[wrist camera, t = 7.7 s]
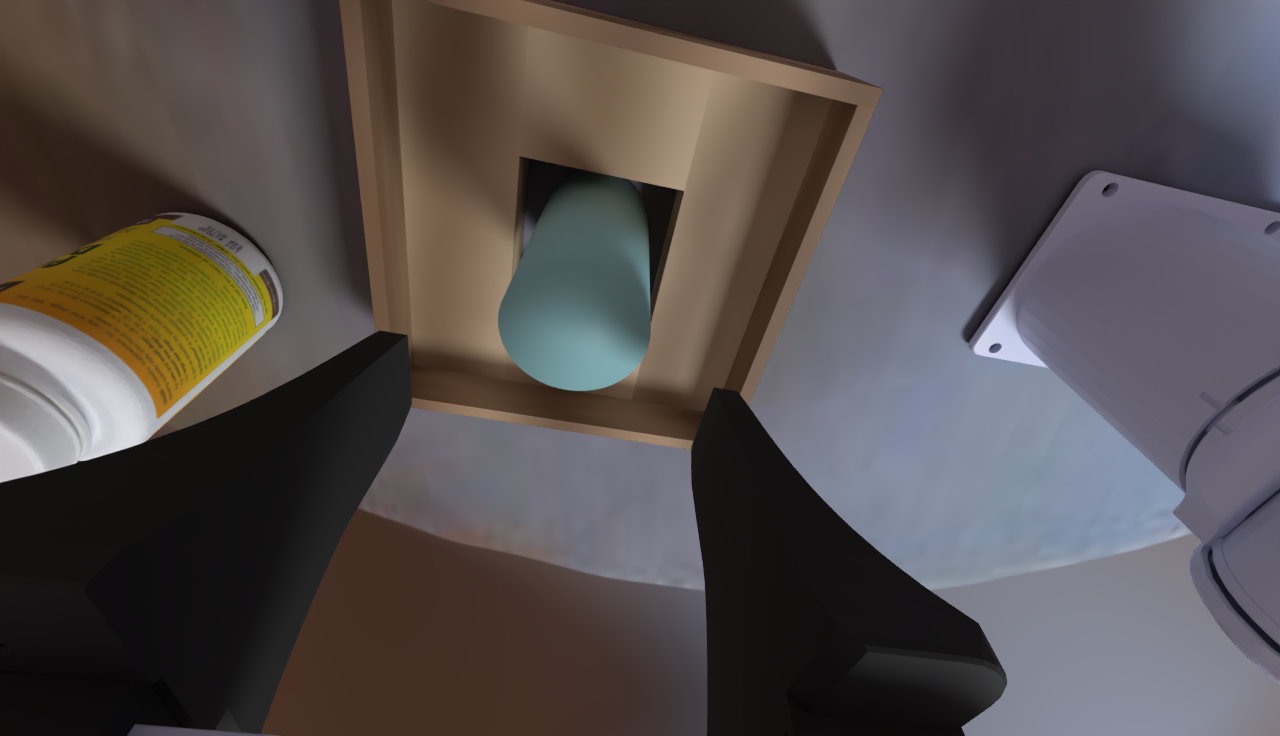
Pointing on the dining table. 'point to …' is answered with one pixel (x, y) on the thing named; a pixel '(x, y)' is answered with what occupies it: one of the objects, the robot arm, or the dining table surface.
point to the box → (599, 142)
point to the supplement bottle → (124, 337)
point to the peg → (582, 287)
